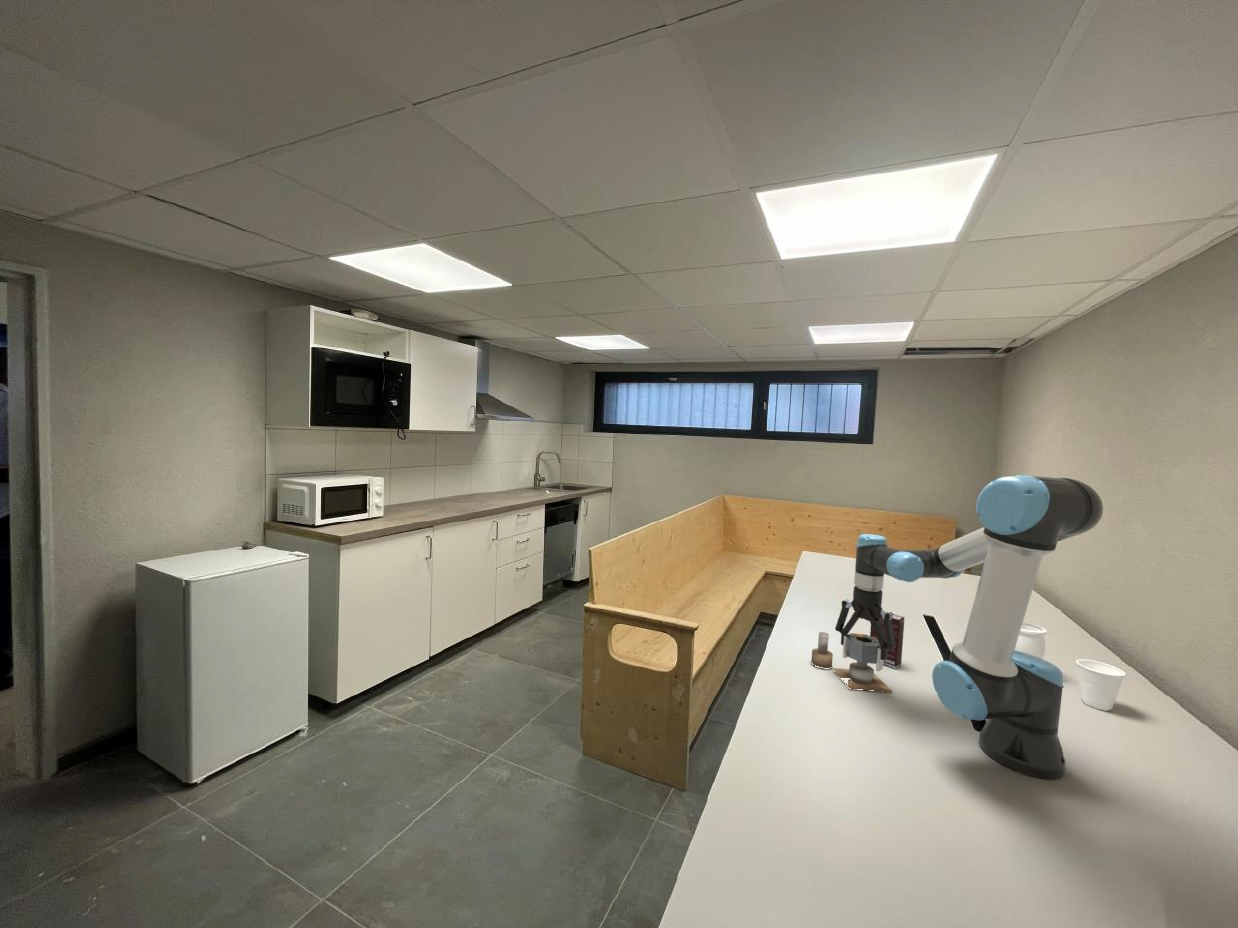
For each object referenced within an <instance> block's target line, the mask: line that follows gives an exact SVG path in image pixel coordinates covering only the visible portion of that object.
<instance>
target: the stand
mask: <svg viewBox="0 0 1238 928" xmlns="http://www.w3.org/2000/svg"><path fill="white" fill-rule="evenodd" d="M818 632H819V631H818ZM817 644H818V645H817V647H816V648H813V649H812V650H811V661H810V663H811V662H812V663H813V664H814V665H816V666H819V667H823V668H830V667H832V668H833V657H834V656H833V653H832V651H830V650H828V648H829V633H827V632H825V631H820V632H819V633H818V641H817Z"/></svg>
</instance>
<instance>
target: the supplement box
mask: <svg viewBox="0 0 1238 928" xmlns="http://www.w3.org/2000/svg"><path fill="white" fill-rule="evenodd" d="M878 617H879V619H880V624H881V627H882V629H883V632H884V634H885V627H884V619H883V618H882V615H881V614H880V615H879V616H878ZM892 625H893V631H894V638H895V644H896V647H895V648H893V649H891V650H890V649H888V654H887V659H886V660H884V662H883V664H884V665H883V666H885V665H887V666H886V667H888V666H889V667H888V668H891V667H892V668H891V669H895V670H898V669H899V668H900V667H901V666H902V659H903V643H904V630H905V616H902V615H898V614H896V613H895V614H894V613H893V618H892ZM869 634H870V635H869V636H871V637H874V638H877V636H876V634H875V631H874V628H873V626H872V625H871V624H870V633H869ZM885 637H886V634H885ZM899 666H900V667H899Z"/></svg>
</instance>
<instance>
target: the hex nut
mask: <svg viewBox="0 0 1238 928" xmlns="http://www.w3.org/2000/svg"><path fill="white" fill-rule="evenodd" d="M879 647H880V644H879V641H878V639H877V638H874V637H871V636H870V635H869V634H865V633H855V632H854V633H853V632H852V633H848V635H846V641H845V653H846V654H847V656H848V657H847V658H849V659H852V660H855V661H856V662H857V661H860V662H863V663H867V664H871V665H872V664H873V665H876V663H877V651H878V648H879Z"/></svg>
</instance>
